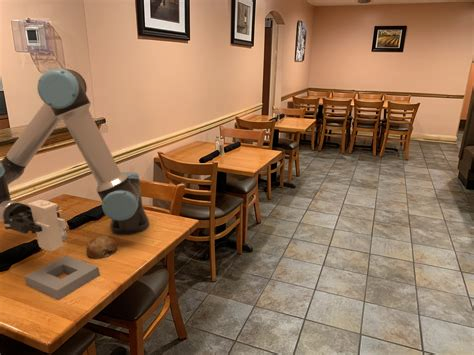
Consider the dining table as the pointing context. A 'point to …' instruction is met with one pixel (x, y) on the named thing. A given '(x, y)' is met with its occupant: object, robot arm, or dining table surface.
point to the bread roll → (101, 247)
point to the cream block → (48, 216)
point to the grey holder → (59, 288)
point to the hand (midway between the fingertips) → (57, 227)
